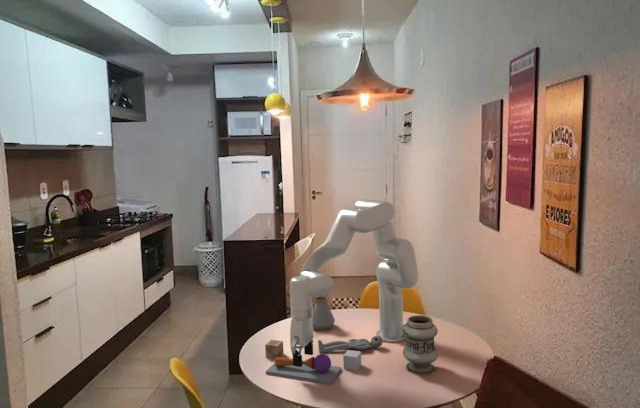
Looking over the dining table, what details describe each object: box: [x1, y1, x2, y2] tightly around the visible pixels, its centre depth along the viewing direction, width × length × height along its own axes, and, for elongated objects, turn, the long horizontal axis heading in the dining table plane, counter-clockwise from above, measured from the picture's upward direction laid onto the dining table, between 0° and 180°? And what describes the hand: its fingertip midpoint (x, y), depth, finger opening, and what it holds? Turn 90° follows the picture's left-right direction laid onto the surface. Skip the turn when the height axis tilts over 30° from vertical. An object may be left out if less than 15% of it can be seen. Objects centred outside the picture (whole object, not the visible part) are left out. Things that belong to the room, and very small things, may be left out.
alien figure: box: [317, 335, 384, 354], centre depth 181 cm, size 8×5×25 cm
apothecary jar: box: [402, 314, 439, 376], centre depth 162 cm, size 12×12×18 cm
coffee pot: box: [285, 294, 336, 331], centre depth 204 cm, size 21×12×15 cm, turn 87°
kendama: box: [274, 353, 332, 372], centre depth 163 cm, size 6×6×20 cm
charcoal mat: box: [265, 362, 342, 385], centre depth 163 cm, size 24×11×1 cm, turn 68°
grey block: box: [342, 349, 362, 372], centre depth 166 cm, size 5×5×5 cm
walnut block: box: [264, 339, 284, 360], centre depth 177 cm, size 5×5×5 cm
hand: (303, 360), depth 163 cm, fingers open, 9 cm apart
